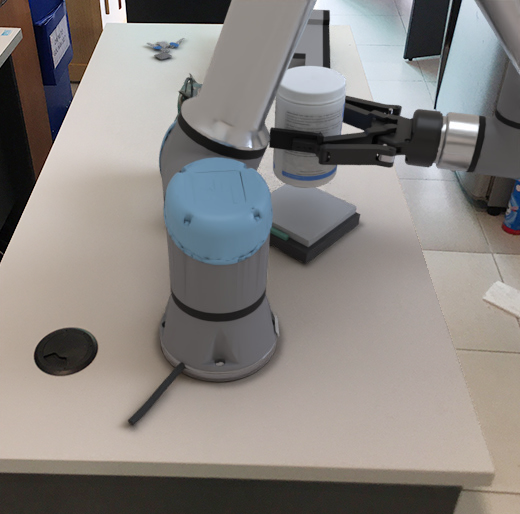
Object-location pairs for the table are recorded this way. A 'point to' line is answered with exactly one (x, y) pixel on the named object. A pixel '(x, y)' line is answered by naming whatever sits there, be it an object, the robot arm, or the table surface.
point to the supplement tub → (308, 121)
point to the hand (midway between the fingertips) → (277, 121)
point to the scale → (308, 221)
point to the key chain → (164, 45)
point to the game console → (314, 42)
